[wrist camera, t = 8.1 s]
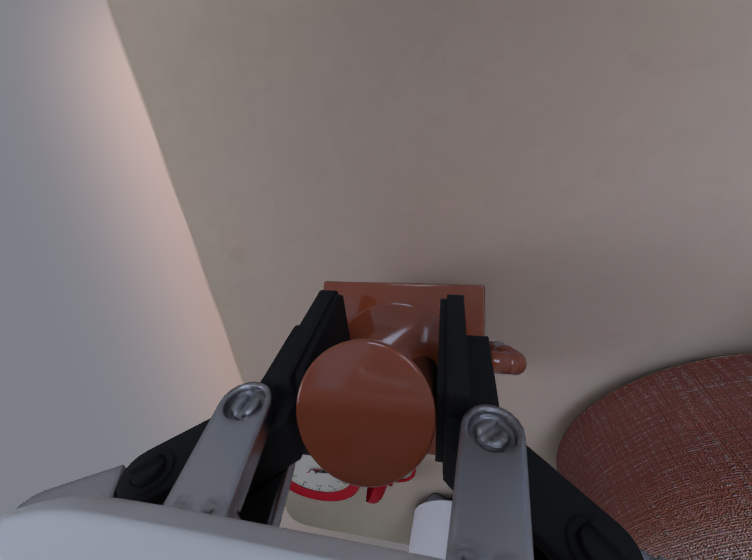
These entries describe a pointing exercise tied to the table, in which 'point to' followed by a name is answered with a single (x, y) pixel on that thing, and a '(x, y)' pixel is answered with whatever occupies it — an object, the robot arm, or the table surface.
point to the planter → (672, 458)
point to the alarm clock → (329, 483)
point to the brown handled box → (384, 380)
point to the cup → (431, 527)
